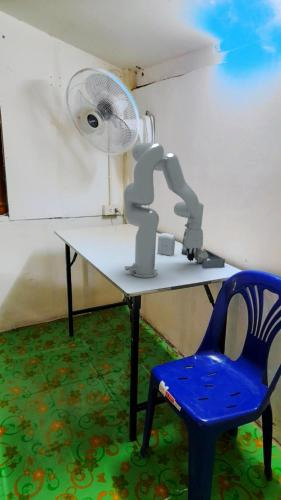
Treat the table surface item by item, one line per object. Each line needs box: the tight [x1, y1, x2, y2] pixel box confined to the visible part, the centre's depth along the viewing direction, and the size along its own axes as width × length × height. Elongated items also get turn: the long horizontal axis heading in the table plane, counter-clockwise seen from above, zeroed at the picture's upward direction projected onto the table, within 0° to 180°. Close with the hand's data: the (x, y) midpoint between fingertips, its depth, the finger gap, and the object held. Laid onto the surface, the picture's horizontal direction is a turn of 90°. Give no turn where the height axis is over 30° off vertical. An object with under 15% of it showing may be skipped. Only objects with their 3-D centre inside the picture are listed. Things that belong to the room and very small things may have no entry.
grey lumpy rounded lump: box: [194, 248, 210, 265], centre depth 174 cm, size 9×8×10 cm
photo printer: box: [157, 232, 176, 257], centre depth 188 cm, size 10×4×12 cm, turn 60°
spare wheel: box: [181, 248, 192, 256], centre depth 192 cm, size 7×7×3 cm
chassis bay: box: [186, 249, 226, 270], centre depth 177 cm, size 14×19×4 cm
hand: (190, 260), depth 174 cm, fingers closed
